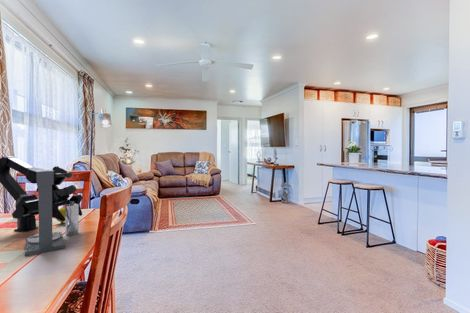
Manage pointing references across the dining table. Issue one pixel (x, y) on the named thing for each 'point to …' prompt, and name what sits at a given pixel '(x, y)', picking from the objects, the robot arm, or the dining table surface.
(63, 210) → the lemon
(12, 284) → the dining table surface
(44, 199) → the stand
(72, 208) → the silver metal bottle
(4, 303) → the dining table surface
